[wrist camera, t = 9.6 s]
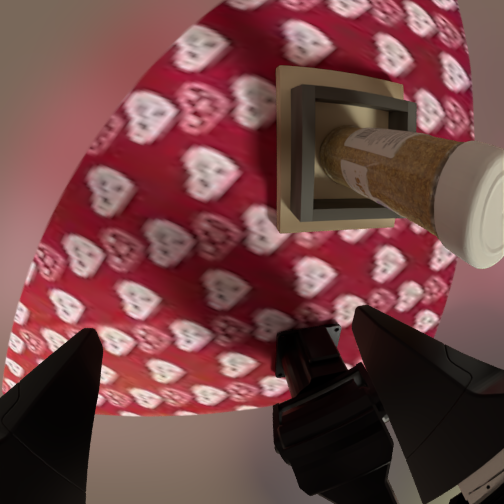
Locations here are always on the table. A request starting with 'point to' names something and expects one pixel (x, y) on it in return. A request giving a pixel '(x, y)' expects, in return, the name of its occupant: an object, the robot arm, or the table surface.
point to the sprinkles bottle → (427, 184)
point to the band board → (313, 135)
